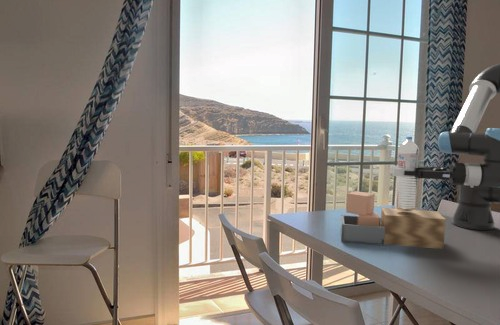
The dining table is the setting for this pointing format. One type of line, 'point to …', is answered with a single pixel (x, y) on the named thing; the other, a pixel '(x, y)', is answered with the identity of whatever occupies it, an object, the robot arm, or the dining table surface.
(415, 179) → the water bottle
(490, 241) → the dining table surface
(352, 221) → the tray
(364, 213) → the salmon pink cube
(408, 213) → the zigzag patterned block
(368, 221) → the pink block
